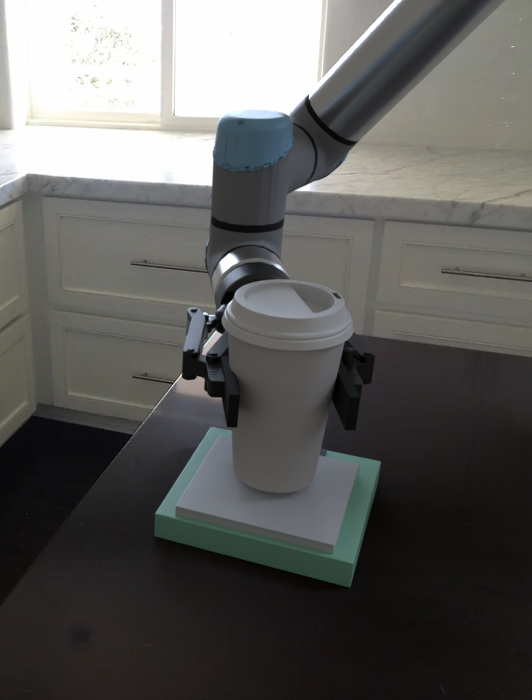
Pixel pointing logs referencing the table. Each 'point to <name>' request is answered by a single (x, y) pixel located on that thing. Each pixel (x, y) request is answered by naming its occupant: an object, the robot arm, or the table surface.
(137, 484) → the table surface
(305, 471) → the coffee cup
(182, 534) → the kitchen scale
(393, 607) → the table surface
